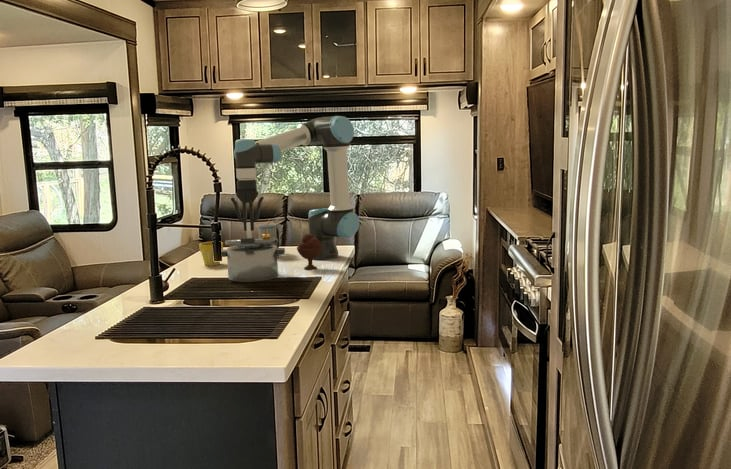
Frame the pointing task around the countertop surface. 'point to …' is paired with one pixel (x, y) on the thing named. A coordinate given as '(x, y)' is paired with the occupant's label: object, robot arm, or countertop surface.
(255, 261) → the cooker pot
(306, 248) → the ice cream bowl
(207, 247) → the plant pot
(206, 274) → the countertop surface
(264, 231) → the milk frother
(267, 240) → the cooker lid
